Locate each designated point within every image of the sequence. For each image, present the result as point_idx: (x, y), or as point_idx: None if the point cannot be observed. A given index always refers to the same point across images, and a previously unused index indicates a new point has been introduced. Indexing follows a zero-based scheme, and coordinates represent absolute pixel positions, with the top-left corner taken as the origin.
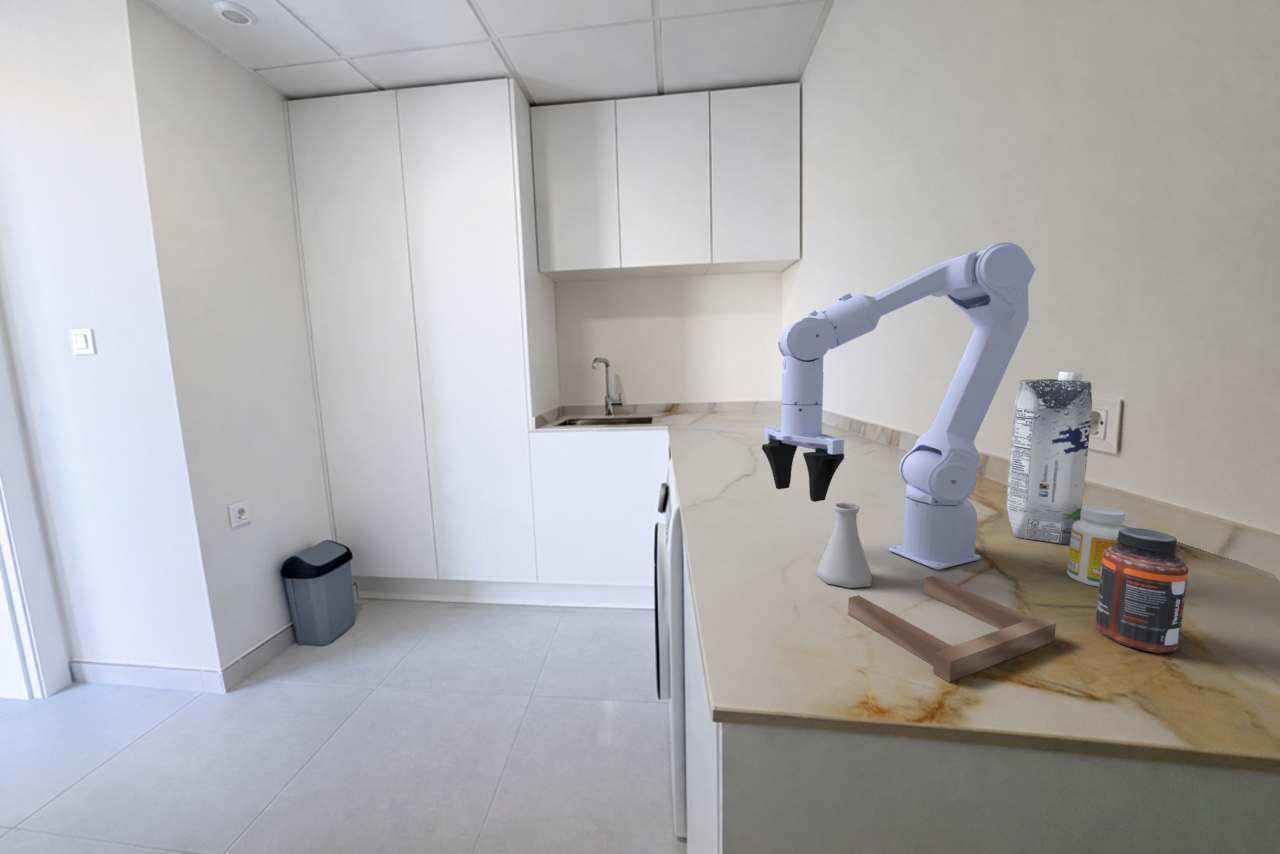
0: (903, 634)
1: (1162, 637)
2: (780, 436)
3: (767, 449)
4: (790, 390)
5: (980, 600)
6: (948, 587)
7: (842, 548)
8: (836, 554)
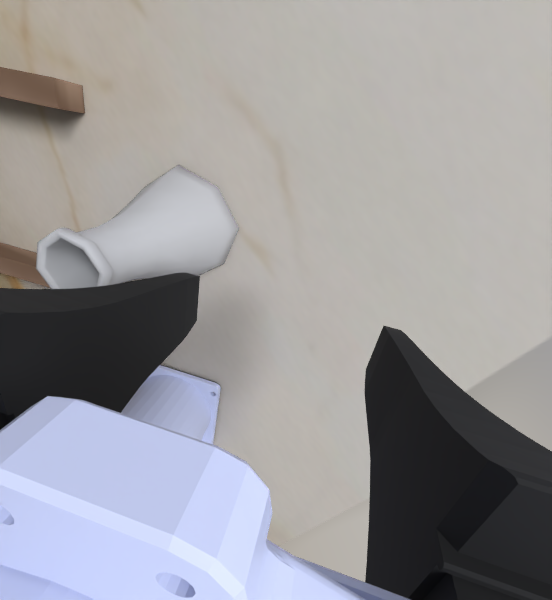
0: None
1: None
2: (41, 466)
3: (526, 465)
4: None
5: (7, 262)
6: None
7: (127, 207)
8: (143, 195)
